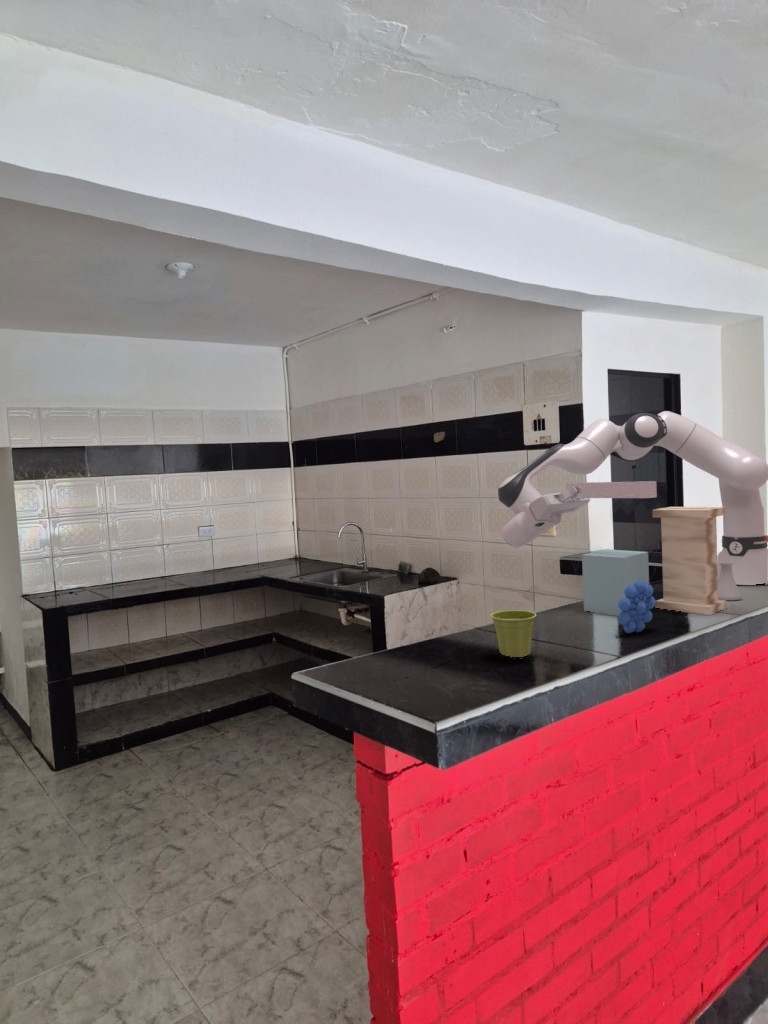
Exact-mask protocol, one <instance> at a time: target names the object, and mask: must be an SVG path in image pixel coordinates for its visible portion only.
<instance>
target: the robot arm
mask: <svg viewBox="0 0 768 1024" xmlns="http://www.w3.org/2000/svg"><path fill="white" fill-rule="evenodd" d="M654 446H655V447H662V448H664V449H666V450H668V451H669V452H670V453H672V454H674V455H676V456H677V457H679V458H680V459H682V460H684V461H685V462H687V463H689V464H690V465H692V466H694V467H696V468H697V469H700V470H701V471H703V472H704V473H705V472H706V473H707V474H709V475H711V476H713V477H715V478H717V479H718V487H719V495H720V500H721V507H725V515H722V525H723V526H722V527H723V528H722V530H723V535H722V537H721V547H722V550H721V551H720V552H718V553H717V572H718V580H719V577H720V572H721V565H720V562H732V563H733V565H732V574H733V578H734V581H735V583H736V586H737V585H740V586H757V585H756V584H762V583H768V535H767V534H766V535H765V509H764V506H763V503H762V502H763V501H762V499H761V494H760V488H761V487H762V486H764V485H765V484H766V483H767V481H768V462H766V460H764V458H762V457H760V456H758V455H757V454H755V453H754V452H751V451H749V450H748V449H745V448H744V447H742V446H740V445H737V444H736V443H734V442H732V441H729V440H727V439H725V438H723V437H721V436H720V435H717V434H715V433H714V432H712V431H710V430H709V429H707V428H706V427H703V426H702V425H701V424H699V423H697V422H695V421H693V420H692V419H690V418H687V417H685V416H682V415H681V414H678V413H675V412H673V411H670V410H664V411H661V412H659V413H658V414H652V413H648V412H640V413H636V414H634V415H632V416H631V417H630V418H628V419H627V420H626V422H625V423H624V424H622V425H617V424H615V423H614V422H612V421H611V420H609V419H605V418H600V419H597V420H595V421H593V422H592V423H590V425H588V426H587V427H586V428H584V430H582V432H581V433H579V434H578V435H577V436H576V437H575V438H574V440H572V441H571V442H569V443H567V444H563V443H558V444H555V445H554V446H551V447H549V448H548V449H547V450H545V451H544V452H543V453H541V454H539V456H537V457H536V458H535V459H533V460H532V461H531V462H529V463H528V464H526V465H525V466H523V468H521V469H519V471H517V472H516V473H515V474H513V475H511V476H509V477H507V478H506V479H504V480H503V481H502V482H501V483H500V485H499V486H498V488H497V496H498V501H499V502H500V503H502V505H504V506H505V507H507V508H508V509H509V510H510V511H511V512H512V513H513V514H515V516H513V517H512V518H511V519H510V520H509V521H507V523H505V524H504V526H503V527H502V528H501V530H500V531H501V536H502V539H503V540H504V541H505V542H506V543H507V544H508V545H509V546H510V547H512V548H515V549H518V548H521V547H524V546H526V545H527V544H529V543H532V542H533V541H535V540H536V539H537V538H539V537H540V535H541V534H544V533H546V532H548V531H549V530H551V529H553V528H554V527H557V525H559V524H560V523H561V522H562V516H563V514H569V513H570V514H571V513H573V512H576V511H577V510H578V509H581V508H582V507H584V506H585V505H587V504H588V503H590V501H591V498H570V497H571V496H573V495H576V494H577V493H578V492H579V490H578V488H577V487H572V488H570V489H569V490H567V491H566V490H564V491H562V492H555V493H547V494H543V495H542V494H541V493H540V492H539V491H538V490H537V489H536V488H535V487H534V486H533V485H532V482H531V480H532V479H533V478H534V477H536V476H538V474H540V473H541V472H543V471H544V470H545V469H547V468H548V467H549V466H553V467H557V468H559V469H561V470H564V471H566V472H569V473H571V474H575V475H580V476H581V475H582V476H583V475H584V476H585V475H589V474H592V473H593V472H595V471H596V470H597V469H599V467H600V466H601V465H602V464H603V463H604V462H605V461H606V460H607V458H609V456H612V457H614V458H616V459H617V460H619V461H621V462H623V463H634V462H638V461H639V460H641V459H642V458H643V457H644V456H646V455H647V454H648V453H649V452H651V450H652V449H653V447H654Z"/></svg>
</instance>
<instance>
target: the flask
mask: <svg viewBox="0 0 768 1024" xmlns="http://www.w3.org/2000/svg"><path fill="white" fill-rule="evenodd" d="M720 565H721V572H720V577H719V580H718V600H726V601H738V600H743V599H742V596H741V593H740V591H739V588H738V586H737V585H736V583H735V581H734V578H733V574H732V565H733V563H732V562H720Z"/></svg>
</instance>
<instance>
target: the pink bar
mask: <svg viewBox="0 0 768 1024" xmlns="http://www.w3.org/2000/svg"><path fill="white" fill-rule="evenodd" d="M572 487H577V488H578V490H579V492H578V493H577V494H576V495H573V496H571V497H570V498H590V499H651V498H652V499H653V498H657V497H658V495H657V494H658V492H657V490H658V489H657V481H655V480H649V481H602V482H601V481H596V482H593V481H591V482H568V483H567V482H566V483H565V491H567V490H569V489H570V488H572Z"/></svg>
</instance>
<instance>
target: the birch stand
mask: <svg viewBox="0 0 768 1024" xmlns="http://www.w3.org/2000/svg"><path fill="white" fill-rule="evenodd" d="M723 515H725V507H722V506H668V507H660V508H656V509H654V508H653V509H652V518H660V523H661V524H660V525H661V526H660V528H661V556H662V558H661V559H662V560H661V563H662V594H663V595H662V597H663V598H660V599H657V600H655V601H656V604H655V606H654V607H655V608H660V609H659V610H663V609H667V610H666V611H671V610H675V611H674V612H679V611H681V612H680V613H687V614H688V613H689V614H696V615H705V616H712V615H714V614H716V612H717V613H718V611H719V612H721V611H720V610H722V611H724V610H726V608H727V609H728V603H727V602H728V600H719V599H718V572H717V563H718V535H717V534H718V532H717V518H718V517H721V516H722V517H723ZM723 609H724V610H723Z"/></svg>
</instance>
